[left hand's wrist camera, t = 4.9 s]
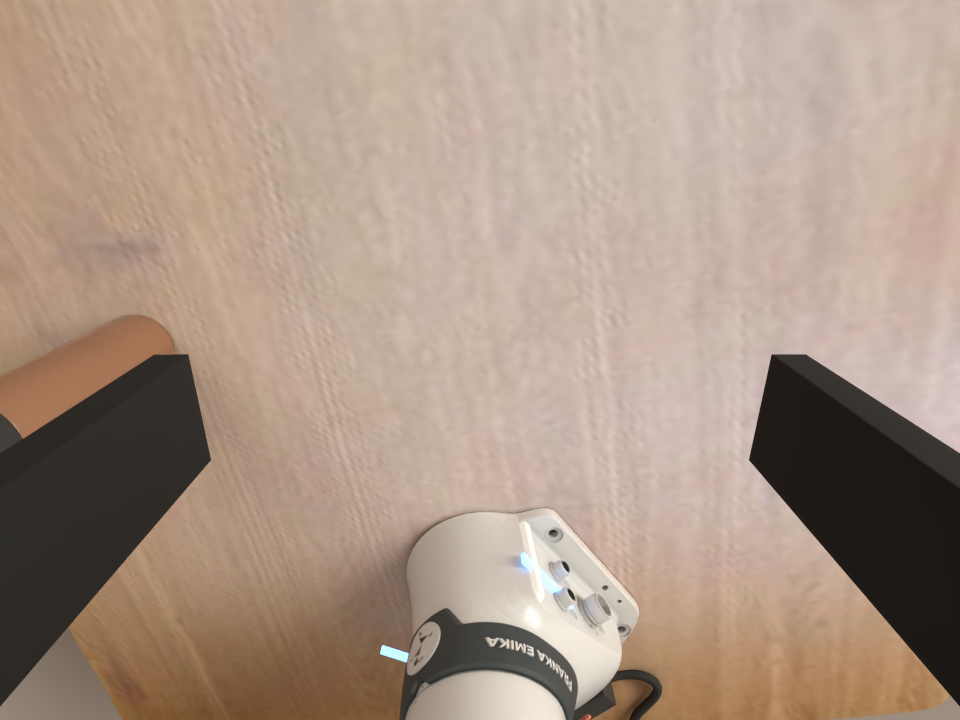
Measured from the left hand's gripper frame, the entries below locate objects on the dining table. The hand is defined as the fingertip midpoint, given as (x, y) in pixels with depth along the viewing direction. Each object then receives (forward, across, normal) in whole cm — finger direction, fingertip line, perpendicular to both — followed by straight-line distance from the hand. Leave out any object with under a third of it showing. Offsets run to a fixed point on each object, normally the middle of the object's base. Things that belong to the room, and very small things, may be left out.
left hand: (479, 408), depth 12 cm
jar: (+28, -26, -9) cm, 39 cm away
